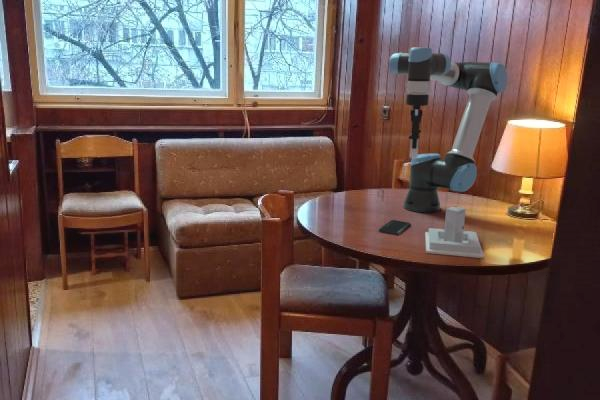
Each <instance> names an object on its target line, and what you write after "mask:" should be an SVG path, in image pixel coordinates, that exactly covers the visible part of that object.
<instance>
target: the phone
mask: <svg viewBox="0 0 600 400" xmlns="http://www.w3.org/2000/svg"><path fill="white" fill-rule="evenodd" d="M410 227H411V222H406V221H401V220H398V219H396V220H395V219H391V220H389V221H388V222H387V223H386V224H384V225H382V226H381V227H380V228H378V232H379V233H382V234H383V233H384V234H388V235H393V236H400V234H402V233H403V232H405V230H407V229H408V228H410Z"/></svg>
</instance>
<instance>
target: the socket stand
mask: <svg viewBox="0 0 600 400" xmlns="http://www.w3.org/2000/svg"><path fill="white" fill-rule="evenodd" d="M424 236H425V237H424V238H425V239H424V241H425V253H426V254H433V255H434V254H435V255H444V256H445V255H446V256H455V257H457V256H458V257H465V258H466V257H467V258H477V259H478V258H479V259H485V255H484V252H483V249H482V247H481V243H480V240H479V238H478V234H477V232H476V231H470V230H469V231H468V230H464V231H463V242H451V241H443V239H444V229H443V228H435V227H434V228H433V227H429V228H428V231H425V232H424Z"/></svg>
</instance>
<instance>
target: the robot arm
mask: <svg viewBox="0 0 600 400" xmlns="http://www.w3.org/2000/svg"><path fill="white" fill-rule="evenodd" d="M388 68H389V70H390V72H391V73H393V74H396V75H397V74H398V75H407V83H405V85H404V86H405V87H407V88H406V92H407V94H406V100H405V103H406V105H407V106H412V109H411V110H410V122H411V133H410V134H411V135H409V136H408V139H409V140H410V142H409V143H410V145H409V159H411V161H410V172H409V174H410V175H409V187H408V191H407V193H406V195H405V198H404V200H403V208H404V209H406V210H408V211H413V212H415V213H436V212H439V211H440V210H441V202H440V197H439V193H438V188H441V189H446V190H450V191H452V192H461V193H462V192H466V191H468V190H470V188H471V187H472V186H473V185H474V183H475V181H476V179H477V176H478V173H477V172H478V168H477V166H476V164H475V163H476V161H475V159H474V157H473V156H474V154H475V150H476V147H477V145H478V142H479V139H480V135H481V133H482V130H483V126H484V123H485V120H486V118H487V114H488V111H489V109H490V105H491V103H492V102H493V101H495V100H496V99H497V97H498V94H502V93H504V91H506V88H507V86H508V73H507V68H506V66H504V64H502V63H501V62H493V61H491V62H485V61H484V62H480V61H478V62H476V61H475V62H474V61H463V62H461V61H460V62H454V61H452V59H451V57H450V56H449V55H448V54H445V53H442V52H441V53H440V52H438V53H433V50H432V48H431V47H417V46H415V47H411V48H410V49H409V52H398V53H397V52H395V53H393V54H392V55H391V56H390V57H389V61H388ZM431 81H436V82H439V83H440V84H441V85H442V86H443V85H444V86H447V87H451V88H454V89H456V90H460V91H467V92H466V93H467V94H468V96H469V97H468V99H467V102H466V106H465V109H464V112H463V114H462V118H461V121H460V123H459V126H458V129H457V133H456V135H455V138H454V142H453V145H452V146H451V150H450V151H448V152H446V154H445V156H444V158H442V156H441V154H439V153H420V154H419V142H420V135H419V134H421V133H422V132H421V131H422V129H420V124H421V123H422V122H421V121H422V117H423V110H421V107H425V106H426V107H427V106H428V105H429V98H430V97H429V93H430V88H431V87H430V86H431V85H430V84H431Z"/></svg>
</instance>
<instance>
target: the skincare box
mask: <svg viewBox="0 0 600 400" xmlns="http://www.w3.org/2000/svg"><path fill="white" fill-rule="evenodd" d="M465 218H466V208H465V207H461V206H460V207H459V206H451V207H449V208H446V209H445V219H444V239H443V241H451V242H463V231H465V230H464V228H465V220H466V219H465Z"/></svg>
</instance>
